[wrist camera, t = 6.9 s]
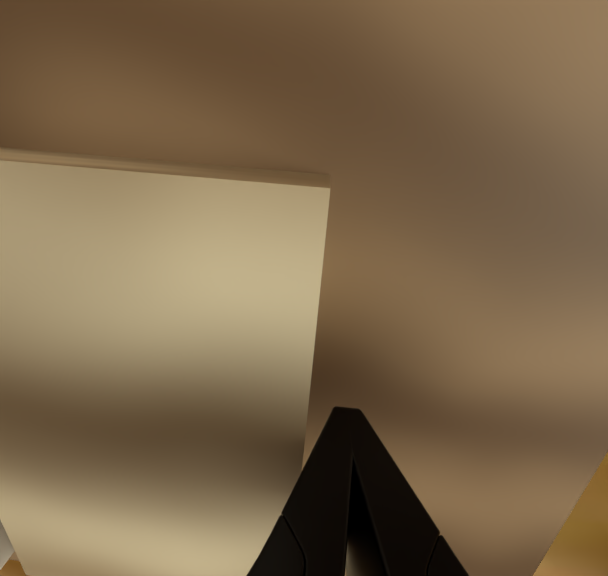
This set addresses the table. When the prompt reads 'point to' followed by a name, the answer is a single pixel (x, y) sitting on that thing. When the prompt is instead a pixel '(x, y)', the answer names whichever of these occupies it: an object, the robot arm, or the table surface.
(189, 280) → the maple plate
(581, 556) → the table surface
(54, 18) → the bench board
